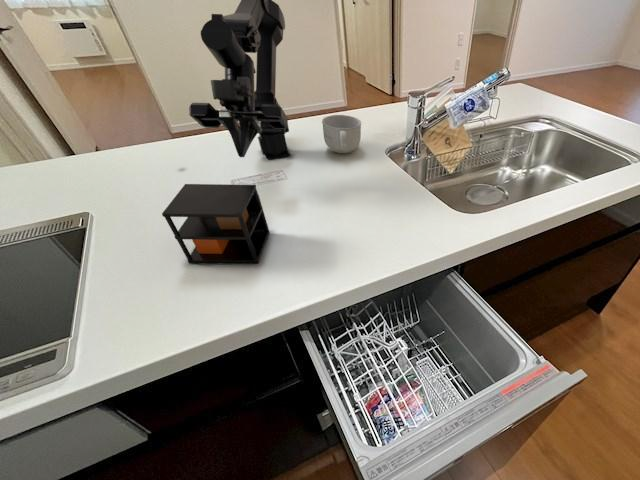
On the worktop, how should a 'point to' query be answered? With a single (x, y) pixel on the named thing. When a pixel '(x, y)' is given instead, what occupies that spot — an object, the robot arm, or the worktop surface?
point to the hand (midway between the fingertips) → (241, 156)
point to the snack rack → (220, 223)
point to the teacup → (342, 133)
